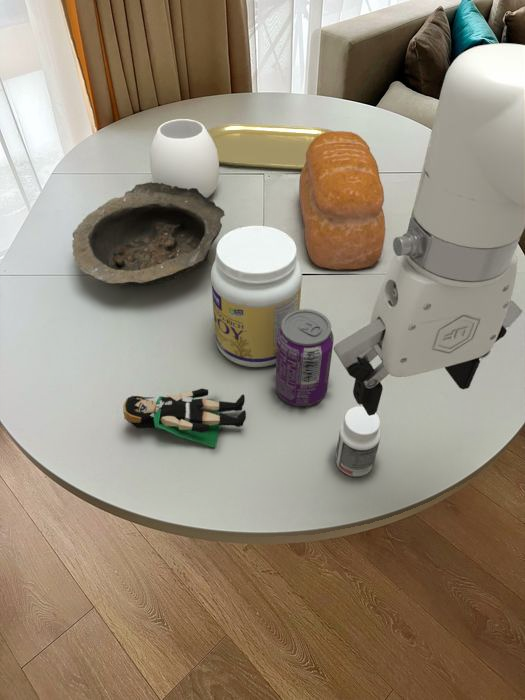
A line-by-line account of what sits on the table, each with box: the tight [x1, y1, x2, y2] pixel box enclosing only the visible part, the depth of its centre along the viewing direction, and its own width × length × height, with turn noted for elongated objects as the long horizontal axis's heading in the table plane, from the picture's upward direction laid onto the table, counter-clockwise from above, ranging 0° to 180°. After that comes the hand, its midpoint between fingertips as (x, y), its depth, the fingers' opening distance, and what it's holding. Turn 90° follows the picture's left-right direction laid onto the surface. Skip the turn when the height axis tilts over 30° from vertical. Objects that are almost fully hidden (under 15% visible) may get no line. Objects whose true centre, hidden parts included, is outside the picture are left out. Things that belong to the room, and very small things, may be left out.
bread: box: [298, 130, 386, 271], centre depth 99 cm, size 14×26×15 cm, turn 2°
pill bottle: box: [335, 405, 381, 477], centre depth 66 cm, size 5×5×8 cm
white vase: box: [149, 118, 220, 198], centre depth 108 cm, size 13×13×14 cm
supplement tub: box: [210, 225, 303, 368], centre depth 78 cm, size 12×12×17 cm
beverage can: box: [274, 308, 335, 407], centre depth 73 cm, size 7×7×12 cm
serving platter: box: [206, 123, 335, 171], centre depth 125 cm, size 19×35×2 cm, turn 84°
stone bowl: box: [71, 181, 226, 287], centre depth 94 cm, size 25×25×9 cm
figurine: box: [122, 388, 247, 449], centre depth 72 cm, size 8×6×15 cm
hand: (411, 390), depth 53 cm, fingers open, 9 cm apart
